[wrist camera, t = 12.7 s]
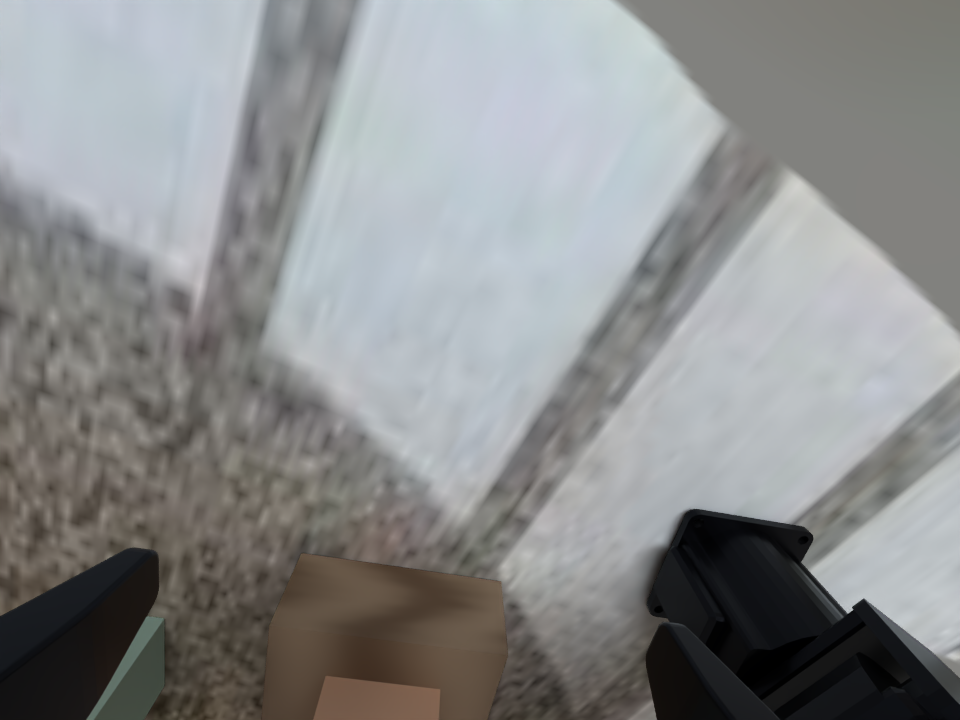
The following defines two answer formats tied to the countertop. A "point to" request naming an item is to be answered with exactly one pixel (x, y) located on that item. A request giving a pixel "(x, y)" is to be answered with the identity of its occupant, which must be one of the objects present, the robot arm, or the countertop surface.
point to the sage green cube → (136, 677)
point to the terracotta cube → (375, 701)
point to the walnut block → (384, 636)
